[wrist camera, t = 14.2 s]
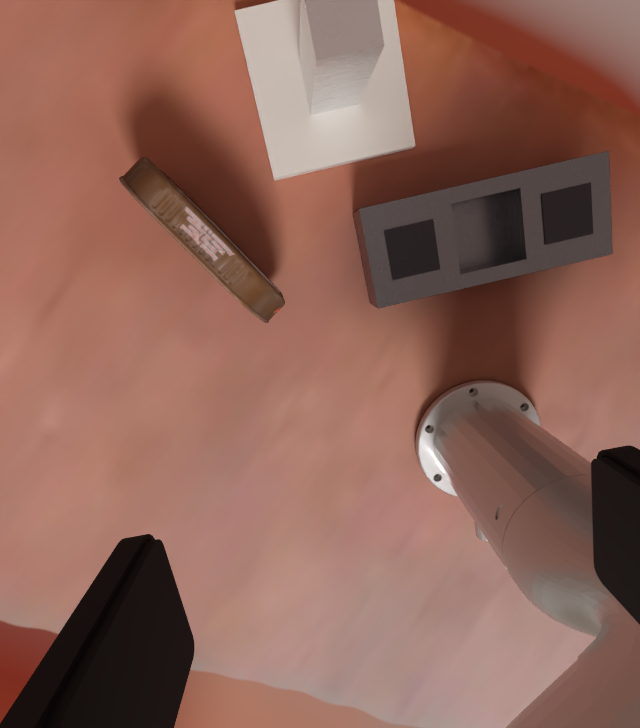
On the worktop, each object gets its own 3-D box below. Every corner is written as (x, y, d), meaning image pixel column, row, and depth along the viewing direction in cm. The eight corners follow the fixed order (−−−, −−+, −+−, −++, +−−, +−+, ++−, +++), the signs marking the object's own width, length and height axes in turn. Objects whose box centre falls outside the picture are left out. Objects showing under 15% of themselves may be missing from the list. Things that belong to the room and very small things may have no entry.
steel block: (359, 104, 34) (384, 45, 24) (310, 115, 34) (316, 61, 24) (349, 47, 33) (371, -38, 23) (299, 59, 33) (300, -21, 23)
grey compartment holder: (581, 253, 39) (613, 254, 35) (369, 302, 39) (378, 308, 35) (576, 161, 37) (609, 150, 33) (352, 213, 37) (359, 208, 33)
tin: (140, 190, 36) (94, 172, 27) (165, 162, 35) (126, 136, 27) (267, 318, 39) (260, 335, 31) (292, 294, 39) (291, 305, 30)
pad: (412, 148, 36) (415, 145, 35) (274, 180, 36) (273, 178, 35) (387, -18, 33) (389, -27, 32) (236, 17, 33) (234, 10, 32)
